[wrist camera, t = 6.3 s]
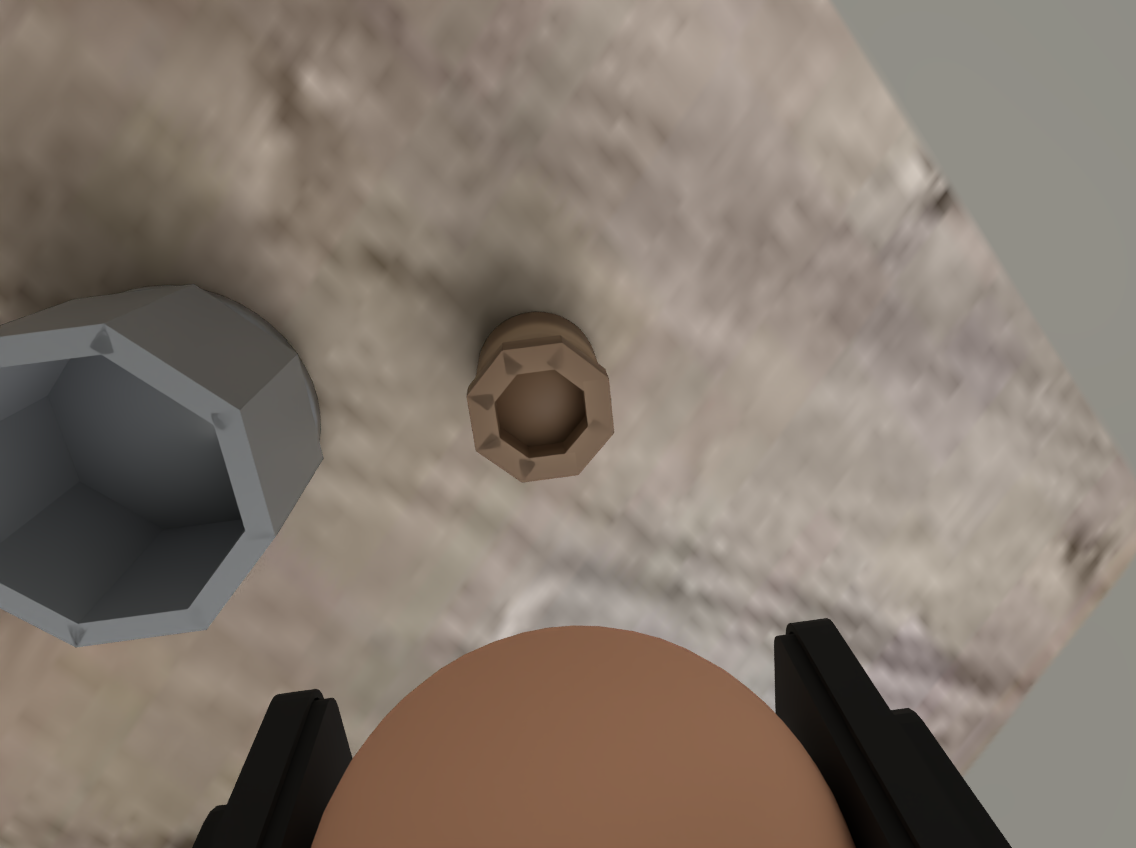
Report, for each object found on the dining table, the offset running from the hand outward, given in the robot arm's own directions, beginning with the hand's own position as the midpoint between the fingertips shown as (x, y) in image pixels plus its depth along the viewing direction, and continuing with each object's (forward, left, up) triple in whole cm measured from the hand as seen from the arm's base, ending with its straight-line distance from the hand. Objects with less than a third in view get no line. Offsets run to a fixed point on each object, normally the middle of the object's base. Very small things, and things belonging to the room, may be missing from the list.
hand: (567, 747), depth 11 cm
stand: (0, 0, -19) cm, 19 cm away
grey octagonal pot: (0, -13, -19) cm, 23 cm away
